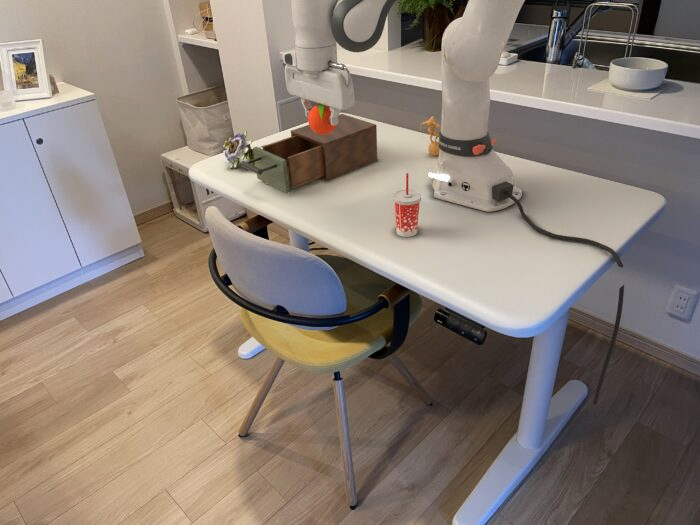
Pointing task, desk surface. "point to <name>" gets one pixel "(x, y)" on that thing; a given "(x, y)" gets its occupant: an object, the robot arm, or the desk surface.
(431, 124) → the figurine
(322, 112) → the clementine
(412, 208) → the beverage cup
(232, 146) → the passion flower
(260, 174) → the drawer
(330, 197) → the desk surface
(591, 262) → the desk surface
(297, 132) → the cabinet
